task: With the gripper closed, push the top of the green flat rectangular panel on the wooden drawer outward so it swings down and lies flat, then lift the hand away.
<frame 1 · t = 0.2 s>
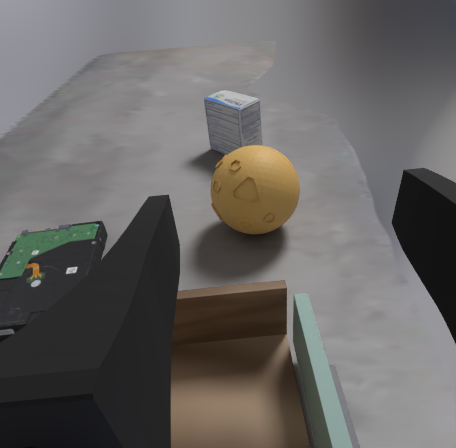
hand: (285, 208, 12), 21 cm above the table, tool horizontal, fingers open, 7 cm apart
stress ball: (256, 227, 46), on the table
medicine box: (236, 152, 62), on the table
disk drive: (52, 286, 42), on the table
green flat rectangular panel: (333, 432, 23), point 4 cm above the table, hinge at 0.0°
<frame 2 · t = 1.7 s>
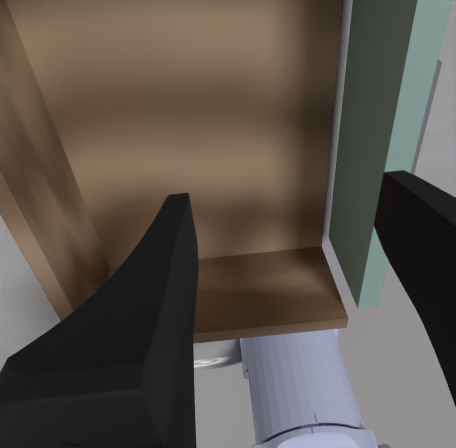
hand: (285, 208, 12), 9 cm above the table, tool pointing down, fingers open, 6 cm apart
wooden drawer: (187, 105, 19), on the table
green flat rectangular panel: (379, 123, 16), point 4 cm above the table, hinge at 0.0°
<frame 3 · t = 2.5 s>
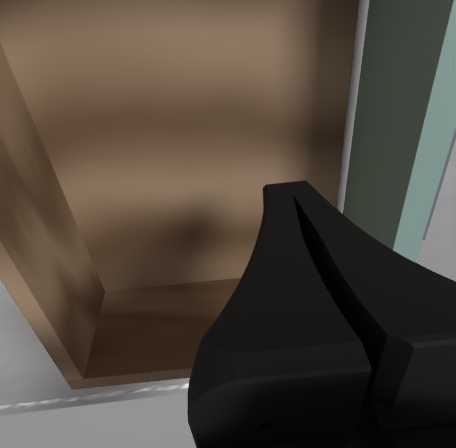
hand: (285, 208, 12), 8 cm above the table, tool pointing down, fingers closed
wooden drawer: (187, 122, 18), on the table
green flat rectangular panel: (397, 145, 15), point 4 cm above the table, hinge at 0.0°
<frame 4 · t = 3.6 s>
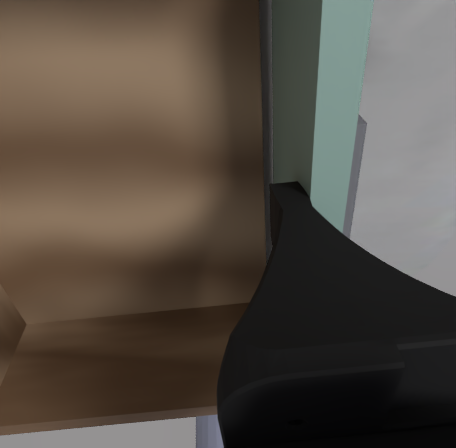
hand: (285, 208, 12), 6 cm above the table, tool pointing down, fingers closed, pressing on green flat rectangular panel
wooden drawer: (95, 148, 17), on the table
green flat rectangular panel: (309, 182, 13), point 4 cm above the table, hinge at 1.9°, touching gripper
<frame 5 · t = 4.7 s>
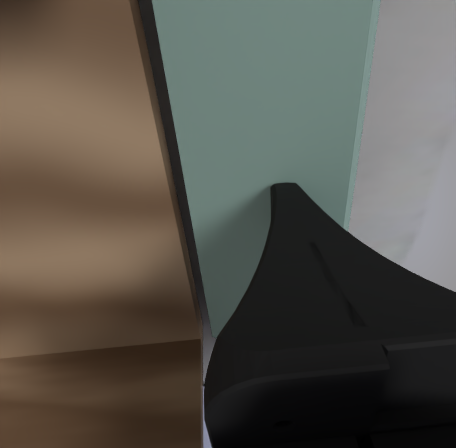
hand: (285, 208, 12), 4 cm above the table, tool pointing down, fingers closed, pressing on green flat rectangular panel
green flat rectangular panel: (266, 194, 13), point 3 cm above the table, hinge at 60.3°, touching gripper
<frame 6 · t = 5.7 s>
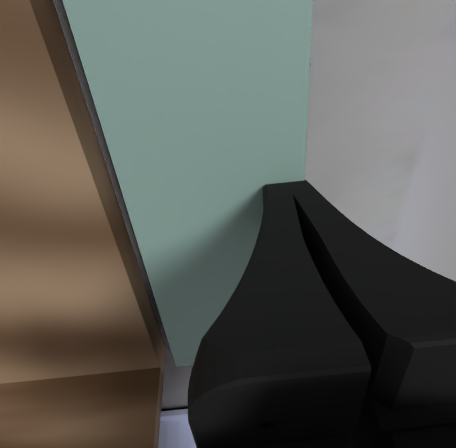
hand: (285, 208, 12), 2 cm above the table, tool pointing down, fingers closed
green flat rectangular panel: (216, 199, 13), point 1 cm above the table, hinge at 89.1°
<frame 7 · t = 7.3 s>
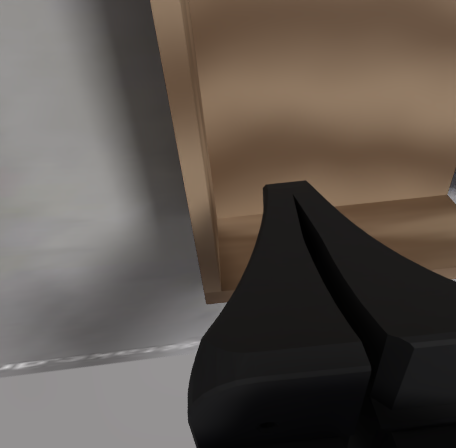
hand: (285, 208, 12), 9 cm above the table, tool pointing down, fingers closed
wooden drawer: (330, 25, 18), on the table
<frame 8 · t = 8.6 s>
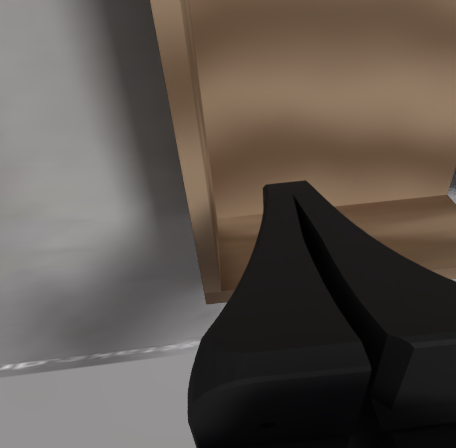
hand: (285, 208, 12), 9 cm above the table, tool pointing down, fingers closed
wooden drawer: (330, 25, 18), on the table
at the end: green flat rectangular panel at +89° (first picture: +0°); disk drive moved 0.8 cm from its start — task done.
